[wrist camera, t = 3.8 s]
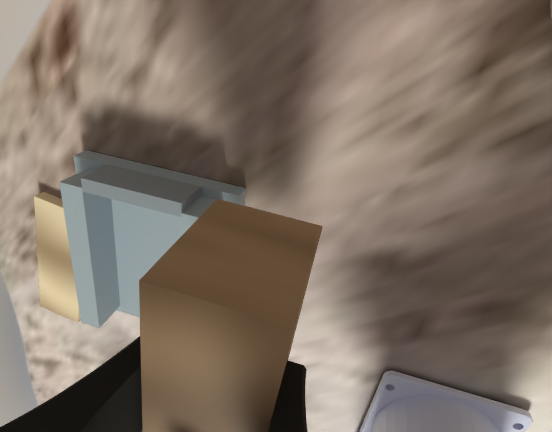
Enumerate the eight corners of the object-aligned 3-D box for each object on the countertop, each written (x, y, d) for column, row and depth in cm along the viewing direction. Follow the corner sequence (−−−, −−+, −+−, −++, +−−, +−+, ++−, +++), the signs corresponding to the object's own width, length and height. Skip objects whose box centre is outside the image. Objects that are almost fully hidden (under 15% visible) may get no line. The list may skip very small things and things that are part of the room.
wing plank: (90, 311, 26) (78, 322, 25) (53, 295, 27) (40, 306, 26) (94, 206, 22) (79, 214, 21) (50, 188, 22) (34, 196, 21)
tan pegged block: (279, 390, 15) (226, 591, 10) (201, 364, 16) (107, 542, 10) (322, 226, 11) (273, 406, 6) (216, 198, 12) (81, 340, 6)
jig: (230, 331, 23) (211, 369, 20) (102, 293, 24) (70, 324, 22) (246, 188, 18) (224, 214, 16) (87, 150, 20) (42, 168, 17)
